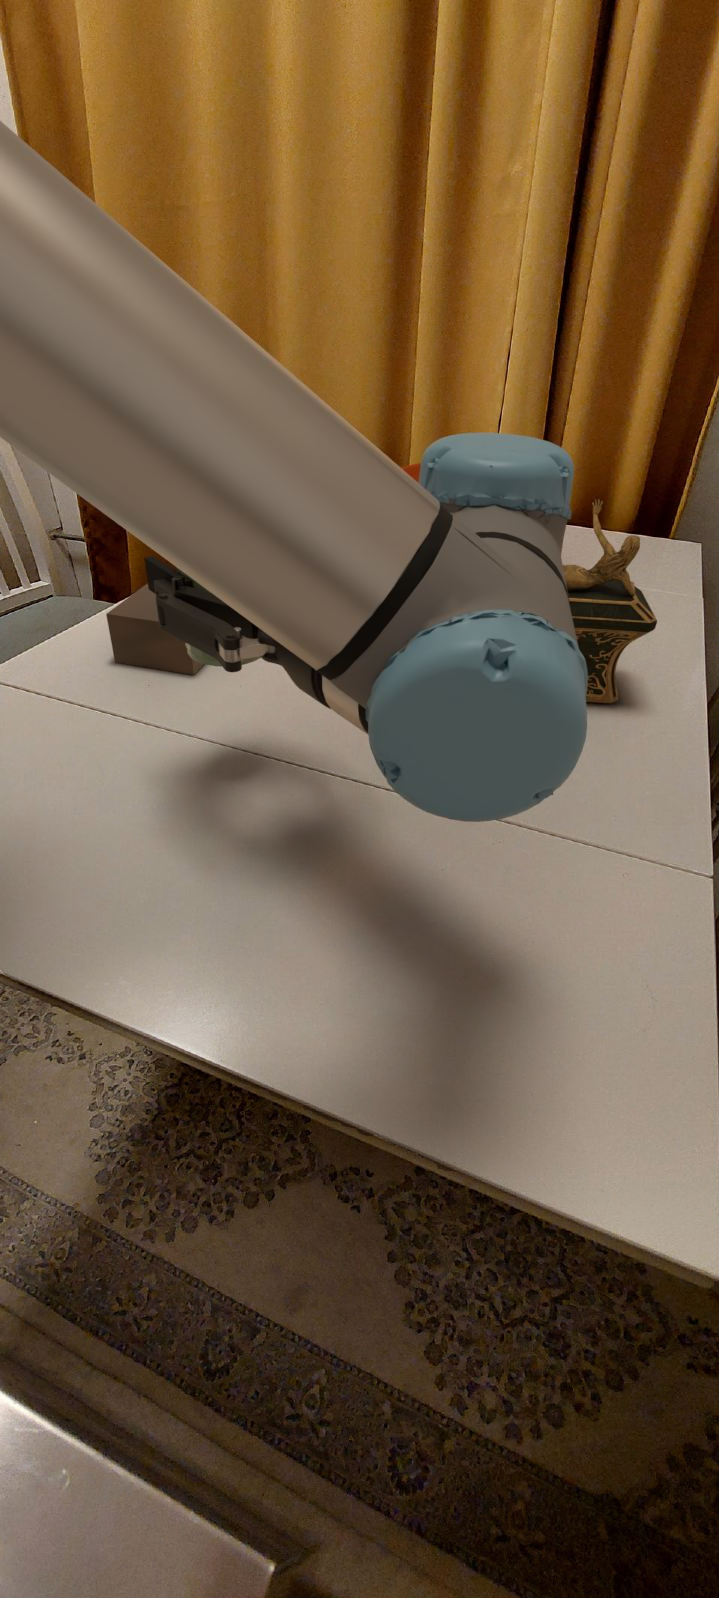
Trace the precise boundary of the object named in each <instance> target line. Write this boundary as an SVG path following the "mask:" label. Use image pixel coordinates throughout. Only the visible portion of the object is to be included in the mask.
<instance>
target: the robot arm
mask: <svg viewBox="0 0 719 1598" xmlns="http://www.w3.org/2000/svg"><path fill="white" fill-rule="evenodd" d="M0 438H1V439H2V440H4V441H5V442H6V443H7V444H9V446H12V447H13V448H14V449H15V450H17V451H19V452H20V453H21V454H22V455H24V456H25V457H26V458H28V459H29V460H31V461H32V462H34V463H35V464H36V465H37V466H39V467H40V468H41V469H43V470H44V471H45V472H47V473H48V474H49V475H51V476H53V477H54V478H55V479H56V480H58V481H59V482H60V483H62V484H63V485H64V486H66V487H67V488H69V489H70V490H72V492H74V493H75V494H77V495H78V496H80V497H81V498H82V499H84V500H85V501H86V502H87V503H89V504H90V505H92V506H93V507H94V508H96V509H97V510H98V511H99V512H101V513H102V514H104V515H105V516H107V517H108V518H109V519H111V521H113V522H115V523H116V524H117V525H118V526H120V527H122V528H123V529H124V530H126V531H127V532H128V533H130V534H131V535H132V536H134V537H135V538H137V539H138V540H139V541H140V542H142V543H143V544H144V545H146V546H147V547H149V548H150V549H151V550H153V551H154V552H155V553H157V554H158V555H159V556H161V557H162V558H164V559H165V560H166V561H168V562H169V563H171V565H173V566H174V567H177V568H178V569H180V570H181V571H183V572H184V573H185V574H187V575H188V576H189V577H191V578H192V579H193V580H195V581H196V582H197V583H199V584H200V585H202V586H203V587H204V588H206V589H207V590H208V591H210V592H211V593H209V592H205V591H202V590H198V589H195V588H192V580H190V579H189V578H187V577H186V576H184V575H182V574H181V573H179V572H178V571H177V568H176V569H174V568H173V567H172V566H170V565H169V564H166V563H165V562H163V561H161V560H160V559H158V558H156V557H155V556H153V555H150V556H146V557H144V558H143V560H144V567H145V573H146V580H147V581H146V582H147V583H148V588H149V590H150V591H152V592H153V593H155V594H156V605H157V613H158V620H159V626H160V629H161V630H163V631H165V632H167V633H169V634H171V635H172V636H174V637H176V638H178V639H180V640H182V641H184V642H185V643H187V644H189V645H191V646H193V647H195V648H197V649H198V650H200V651H202V652H204V653H206V654H208V655H210V656H211V657H213V658H215V659H217V660H218V661H219V663H220V664H221V665H222V668H223V669H224V670H225V672H228V673H238V672H241V670H243V665H242V663H241V661H243V660H244V659H249V658H255V657H261V658H260V659H262V660H263V661H265V662H267V663H271V664H274V665H279V666H280V667H282V668H283V669H284V671H285V672H286V674H287V675H288V677H289V678H290V680H291V681H292V683H293V684H294V685H295V686H296V687H297V688H298V689H299V690H301V691H302V692H303V693H305V694H306V695H307V696H309V697H311V698H312V699H314V700H315V701H316V702H318V703H320V704H321V705H322V706H324V707H325V708H327V709H329V710H332V711H333V712H334V713H335V714H337V715H338V716H340V717H341V718H343V719H344V720H346V721H347V722H349V723H350V724H352V725H353V726H355V727H356V728H357V729H358V730H360V731H362V732H363V733H365V734H366V735H367V736H368V743H369V748H370V751H371V753H372V755H373V759H374V761H375V762H376V765H377V768H378V769H379V770H380V773H381V774H382V775H383V777H384V778H385V779H386V783H387V785H389V786H390V788H391V789H392V790H393V791H394V792H395V793H396V794H397V795H399V796H400V797H401V798H402V799H404V800H405V801H406V802H408V803H409V804H411V805H412V806H414V807H415V808H418V809H419V810H421V811H423V812H425V813H428V814H429V815H430V814H431V815H433V816H437V817H440V818H445V819H449V820H453V821H459V822H463V823H464V822H466V823H467V822H469V823H470V822H471V823H480V822H481V823H482V822H491V821H498V820H503V819H506V818H507V819H508V818H510V817H513V816H517V815H519V814H521V813H524V812H526V811H529V810H530V809H532V808H533V807H535V806H537V805H539V804H541V803H542V802H543V801H544V800H545V799H548V798H549V797H551V796H554V792H555V791H556V790H558V789H559V788H560V787H562V785H563V784H564V783H565V782H566V781H567V780H568V779H569V777H570V775H571V774H572V772H573V771H574V769H575V768H576V767H577V764H578V762H579V759H580V757H581V755H582V752H583V749H584V746H585V744H586V739H587V733H588V711H587V702H586V693H587V685H588V673H587V666H586V661H585V658H584V656H583V655H582V653H581V652H580V650H579V647H578V642H577V638H576V633H575V628H574V624H573V619H572V615H571V610H570V605H569V597H568V592H567V586H566V581H565V575H564V570H563V565H564V564H563V560H562V552H563V544H564V538H565V533H566V529H567V525H568V521H570V520H571V519H572V509H571V508H570V504H571V498H572V490H573V483H574V475H575V466H574V460H573V459H572V457H571V455H570V454H569V453H568V451H566V450H565V449H564V448H562V447H561V446H559V445H557V444H556V443H553V442H551V441H547V440H545V439H541V438H537V437H533V436H528V435H521V434H513V433H503V432H502V433H501V432H500V433H499V432H465V433H457V434H452V435H448V436H444V437H440V438H439V439H437V440H435V441H434V442H432V443H431V444H430V445H428V447H427V448H426V449H425V450H424V452H423V454H422V456H421V460H420V463H421V467H420V475H419V483H418V482H416V481H415V480H414V479H413V478H412V477H411V476H410V475H408V474H407V473H406V472H405V471H404V470H403V469H401V468H402V467H401V466H400V465H398V464H397V463H396V462H394V460H392V459H391V458H390V457H389V456H388V455H387V454H386V453H384V452H383V451H382V450H381V449H379V448H378V446H376V445H375V444H374V443H373V442H371V440H369V439H368V438H367V437H366V436H365V435H364V434H362V433H361V432H360V431H359V430H358V429H357V428H355V427H354V426H353V425H352V424H351V423H349V422H348V421H347V420H346V419H345V418H344V417H343V416H342V415H340V414H339V413H338V412H337V411H336V410H335V409H334V408H333V407H331V406H330V405H329V404H328V403H326V402H325V400H323V399H322V398H321V397H320V396H318V395H317V394H316V393H315V392H314V391H313V390H312V389H310V387H308V386H307V385H306V384H305V383H304V382H303V381H301V380H300V379H299V378H298V377H297V376H296V375H294V374H293V373H292V372H291V371H290V370H289V369H288V368H286V366H284V365H283V364H282V363H281V362H279V361H278V360H277V359H276V358H275V357H274V356H273V355H271V354H270V352H268V351H267V350H266V349H264V348H263V347H262V346H261V345H260V344H259V343H257V342H256V341H255V340H254V339H253V338H251V336H249V335H248V334H247V333H246V332H244V331H243V330H242V329H241V328H240V327H239V326H238V325H236V323H235V322H233V321H232V320H231V319H230V318H229V317H227V316H226V315H225V314H224V313H223V312H222V311H220V310H219V309H218V308H217V307H216V306H214V304H212V303H211V302H210V301H209V300H208V299H207V298H206V297H204V296H203V295H202V294H201V293H200V292H199V291H197V290H196V289H195V288H194V287H193V286H191V284H189V282H187V281H186V280H185V279H184V278H183V277H181V276H180V275H179V274H178V273H177V272H175V270H174V269H172V268H171V267H170V266H168V264H166V263H165V262H164V261H163V260H162V259H160V258H159V257H158V256H157V255H156V254H155V253H154V252H153V251H151V250H150V249H149V248H148V247H147V246H146V245H144V244H143V243H142V242H141V241H140V240H139V239H138V238H136V237H135V236H134V235H133V234H131V233H130V232H129V231H128V230H127V229H126V228H125V227H123V225H121V224H120V223H119V222H118V221H116V219H114V218H113V217H112V216H111V215H110V214H108V213H107V211H105V210H104V209H103V208H101V206H99V205H98V204H97V203H96V202H95V201H94V200H92V199H91V198H90V197H89V196H88V195H86V194H85V193H84V192H83V191H82V190H81V189H80V188H79V187H78V186H76V185H75V184H74V183H73V182H72V181H71V180H70V179H69V178H67V177H66V176H65V175H63V174H62V173H61V172H60V171H59V170H58V169H57V168H56V167H55V166H54V165H52V164H51V163H50V162H49V161H47V160H46V159H45V158H44V157H43V156H42V155H40V153H38V152H37V151H36V150H35V149H34V148H32V147H31V146H30V144H28V143H27V142H25V140H23V139H22V138H21V137H20V136H18V135H17V134H16V133H15V132H14V131H13V130H12V129H10V128H9V127H8V126H7V125H6V124H5V123H4V122H3V121H2V120H0Z"/></svg>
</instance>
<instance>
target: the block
mask: <svg viewBox="0 0 719 1598" xmlns="http://www.w3.org/2000/svg"><path fill="white" fill-rule="evenodd" d="M105 616H106V621H107V626H108V627H107V628H108V632H109V637H110V638H109V639H110V642H111V648H112V653H113V659H114V663H117V664H123V665H129V666H136V667H141V668H147V669H153V670H161V671H166V672H172V673H179V674H183V675H191V676H194V675H196V673H198V672H199V670H200V669H202V667H203V666H204V665H205V664H202V663H200V662H197V661H195V660H194V659H192V658H191V657H190V656H189V654H188V653H187V647H186V644H185V642H184V641H182V640H180V639H178V638H176V637H174V636H172V635H171V634H169V633H167V632H165V631H163V630H161V629H160V626H159V620H158V613H157V605H156V594H155V593H153V592H152V591H150V590H149V588H148V582H146V584H145V585H143V586H142V587H140V588H139V589H138V590H137V591H135V592H134V593H132V594H131V595H130V596H128V597H127V598H126V599H124V600H123V601H121V602H120V603H118V604H117V605H116V606H115V607H114V608H112V609H111V610H109V611H108V612H106V615H105Z"/></svg>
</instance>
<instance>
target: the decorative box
mask: <svg viewBox="0 0 719 1598" xmlns="http://www.w3.org/2000/svg"><path fill="white" fill-rule="evenodd" d="M602 506H603V500H601V501H600V498H598V499H594V502H592V526H593V532H594V534H595V537H596V539H597V540H598V543H599V544H600V546H601V548H602V549H603V555H602V556H601V557H600V559H599V560H598V561H597V562H596V563H595V565H594V566H592V568H590V569H587V568H586V567H583V566H581V565H578V564H563V570H564V575H565V581H566V586H567V592H568V597H569V605H570V610H571V615H572V619H573V624H574V628H575V633H576V638H577V642H578V647H579V650H580V652H581V653H582V655H583V656H584V658H585V661H586V666H587V673H588V685H587V693H586V703H599V704H613V703H614V702H617V701H618V699H619V695H618V686H617V675H616V673H617V665H618V661H619V659H620V657H621V655H622V653H623V652H624V650H625V649H626V648H627V647H628V646H629V645H630V644H631V643H632V642H634V641H636V640H638V639H639V638H642V637H643V636H646V635H647V634H649V633H651V632H653V631H655V630H656V628H657V624H658V619H657V617H656V616H655V613H654V612H653V609H652V608H651V606H650V604H649V602H648V600H647V598H646V596H645V595H644V593H643V591H642V590H641V589H640V588H639V587H637V586H636V585H635V583H634V581H632V580H631V576H630V574H629V572H628V570H627V568H628V566H629V565H630V564H631V563H632V561H634V559H635V558H636V556H637V554H638V553H639V550H640V548H641V537H640V536H639V535H636V534H635V535H634V534H631V535H629V536H627V537H626V538H625V539H624V541H623V542H622V544H621V547H620V549H619V550H618V551H616V549H615V548H614V546H613V545H612V544H611V543H610V542H609V541H608V539H607V538H606V536H605V535H604V533H603V530H602V525H601V523H600V520H599V514H600V512H601V511H602V508H603V507H602Z"/></svg>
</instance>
